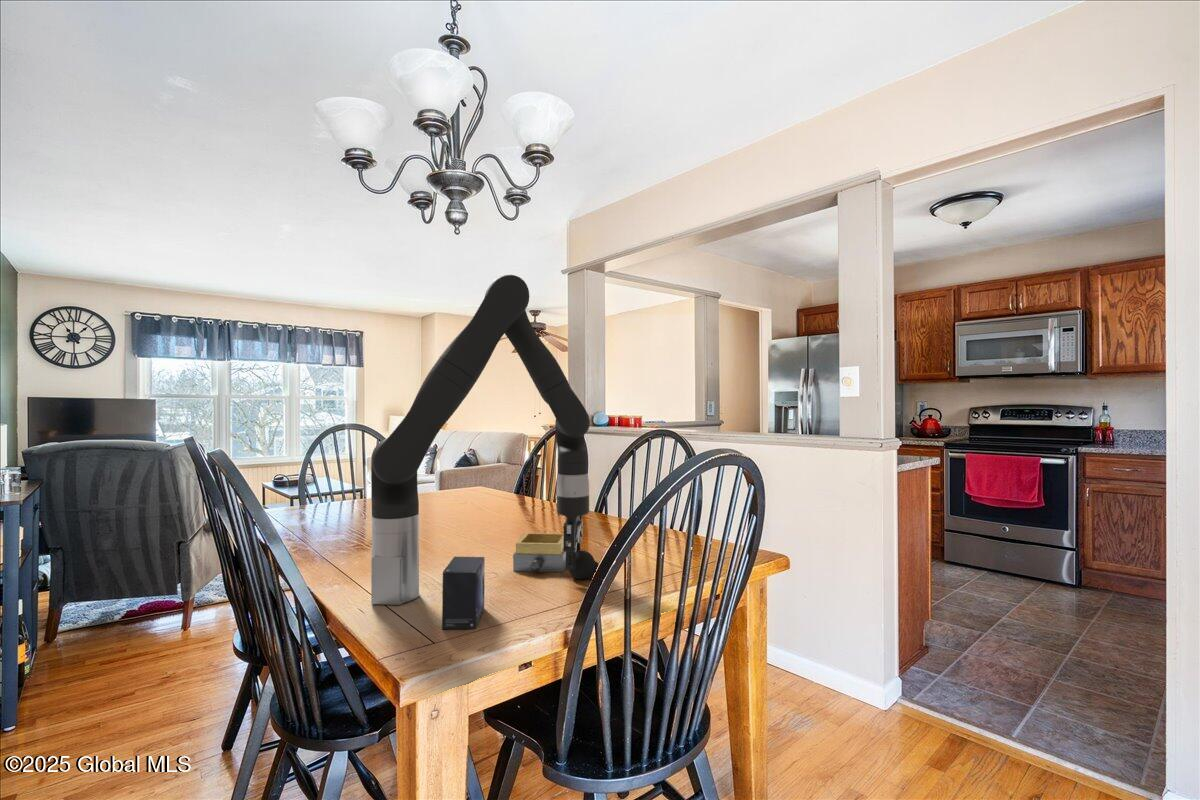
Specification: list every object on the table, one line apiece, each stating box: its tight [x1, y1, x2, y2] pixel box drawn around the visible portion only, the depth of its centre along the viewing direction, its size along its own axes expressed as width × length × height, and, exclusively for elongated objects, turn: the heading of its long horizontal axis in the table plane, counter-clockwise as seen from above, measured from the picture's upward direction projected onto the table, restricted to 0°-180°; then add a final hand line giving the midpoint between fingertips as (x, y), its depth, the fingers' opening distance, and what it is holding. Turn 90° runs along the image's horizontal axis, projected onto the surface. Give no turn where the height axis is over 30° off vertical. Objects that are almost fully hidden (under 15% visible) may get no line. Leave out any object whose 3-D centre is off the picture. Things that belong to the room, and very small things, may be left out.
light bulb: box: [567, 549, 599, 580], centre depth 132 cm, size 6×6×10 cm
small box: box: [441, 556, 486, 630], centre depth 108 cm, size 11×6×10 cm, turn 3°
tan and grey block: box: [512, 532, 571, 573], centre depth 142 cm, size 15×12×6 cm
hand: (573, 563), depth 132 cm, fingers open, 8 cm apart
